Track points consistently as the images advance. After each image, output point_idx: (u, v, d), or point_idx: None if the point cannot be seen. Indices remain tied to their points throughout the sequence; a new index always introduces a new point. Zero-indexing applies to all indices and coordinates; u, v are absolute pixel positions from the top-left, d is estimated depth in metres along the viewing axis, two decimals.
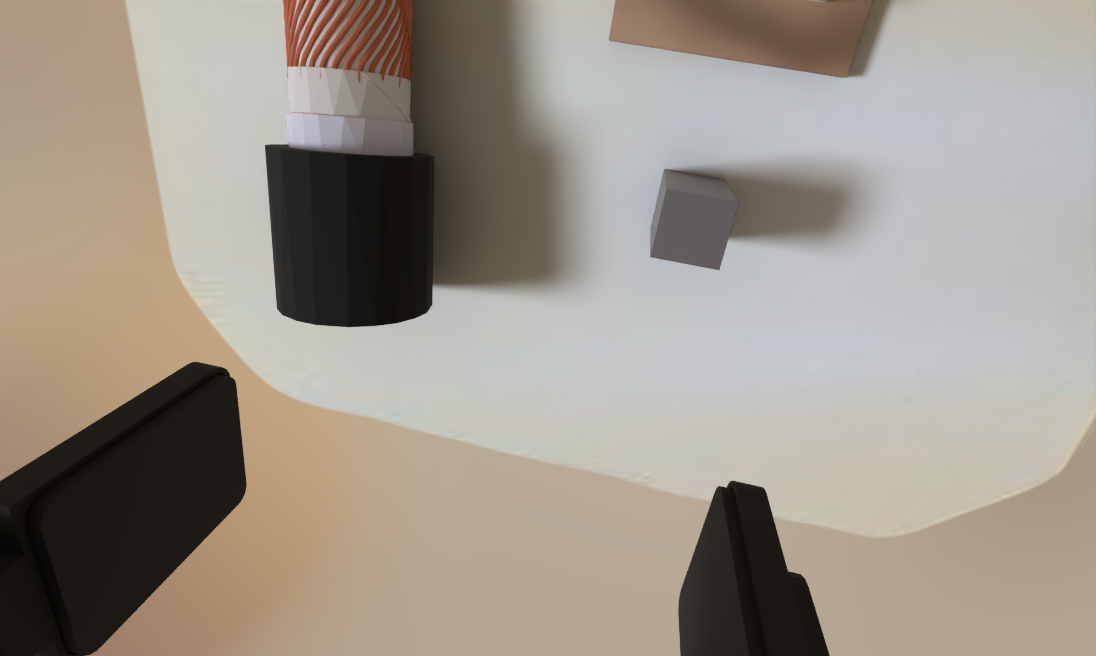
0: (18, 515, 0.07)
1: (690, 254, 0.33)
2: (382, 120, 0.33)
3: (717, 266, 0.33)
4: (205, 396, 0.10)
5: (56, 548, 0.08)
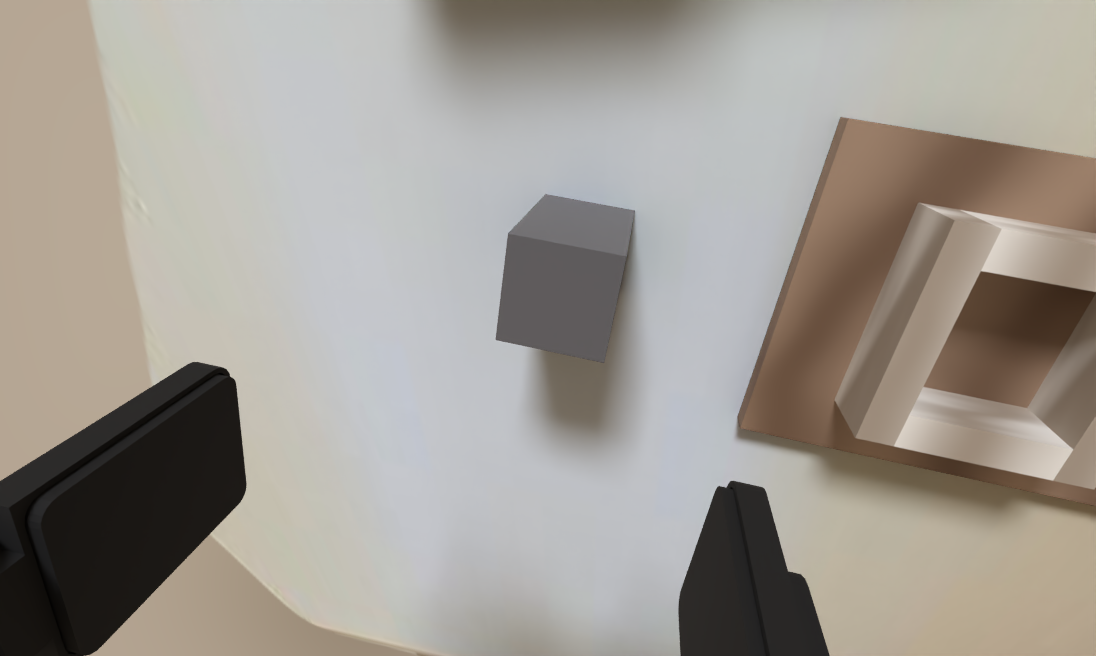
0: (18, 515, 0.07)
1: (517, 298, 0.20)
2: None
3: (501, 337, 0.21)
4: (205, 396, 0.10)
5: (56, 548, 0.08)
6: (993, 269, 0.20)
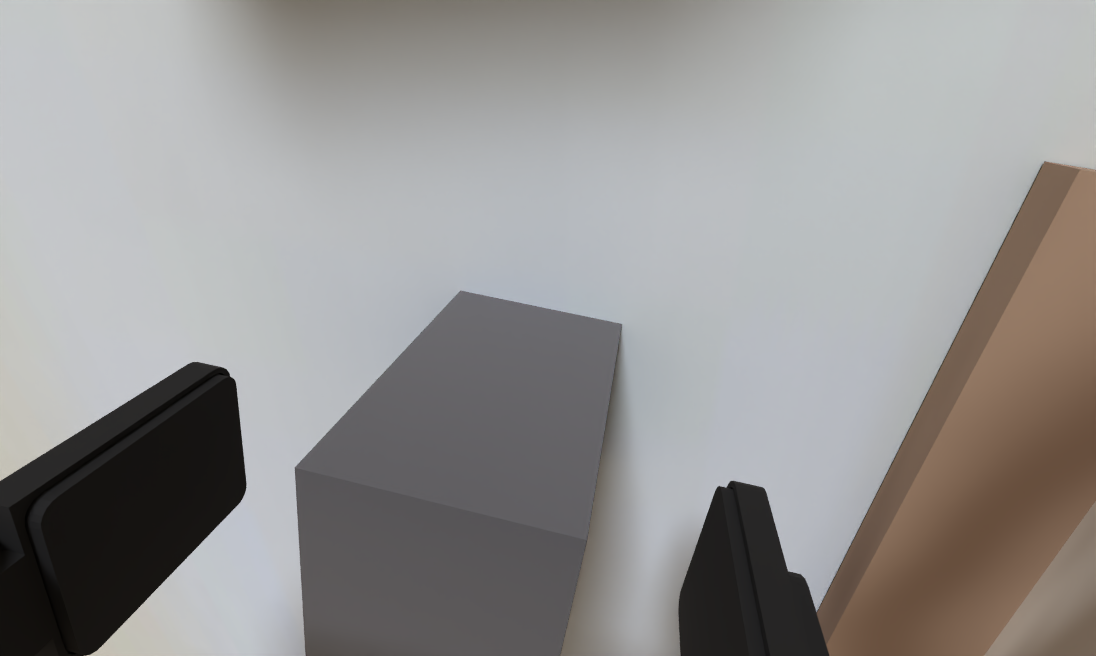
0: (18, 515, 0.07)
1: (338, 594, 0.09)
2: None
3: None
4: (205, 396, 0.10)
5: (56, 548, 0.08)
6: None
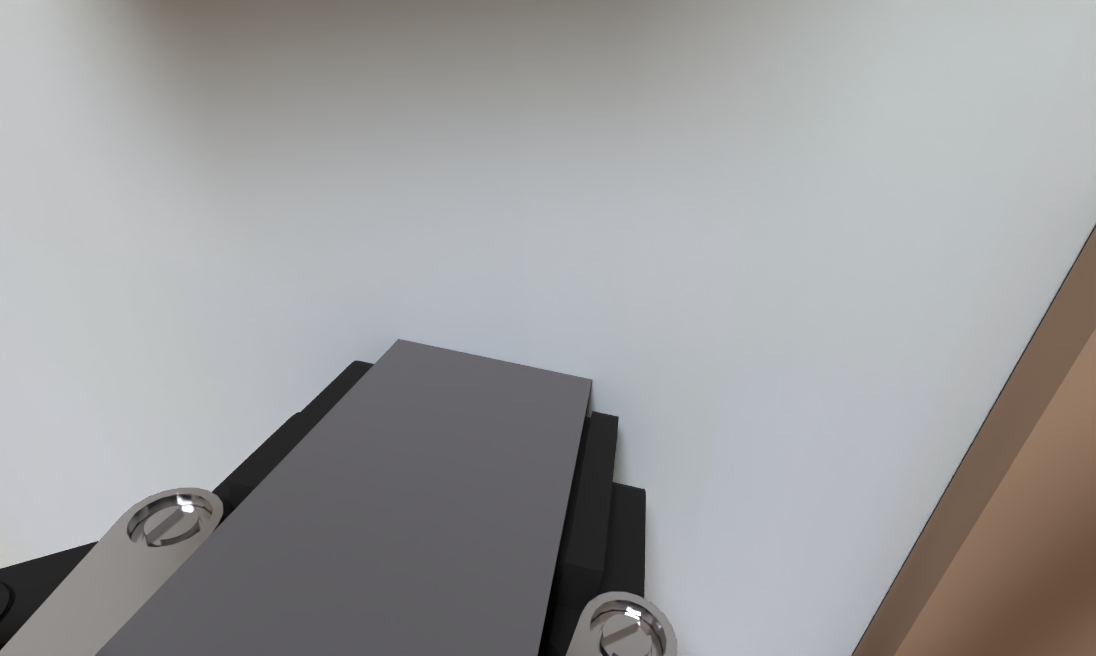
0: None
1: None
2: None
3: None
4: None
5: None
6: None
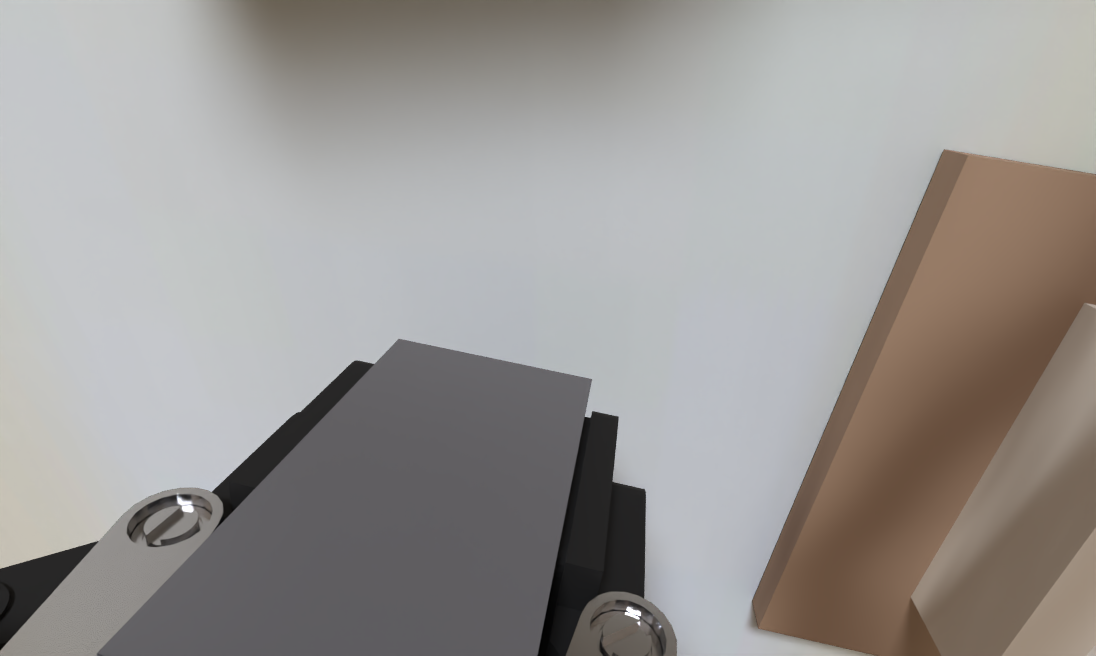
0: None
1: None
2: None
3: None
4: None
5: None
6: None
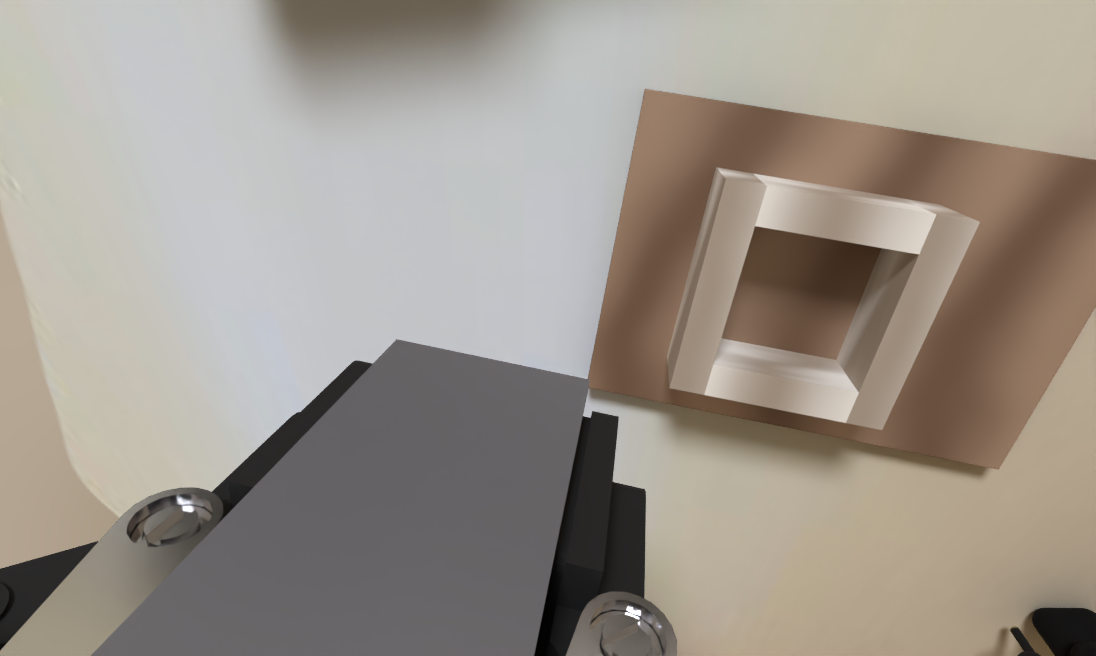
0: None
1: None
2: None
3: None
4: None
5: None
6: (765, 224, 0.21)
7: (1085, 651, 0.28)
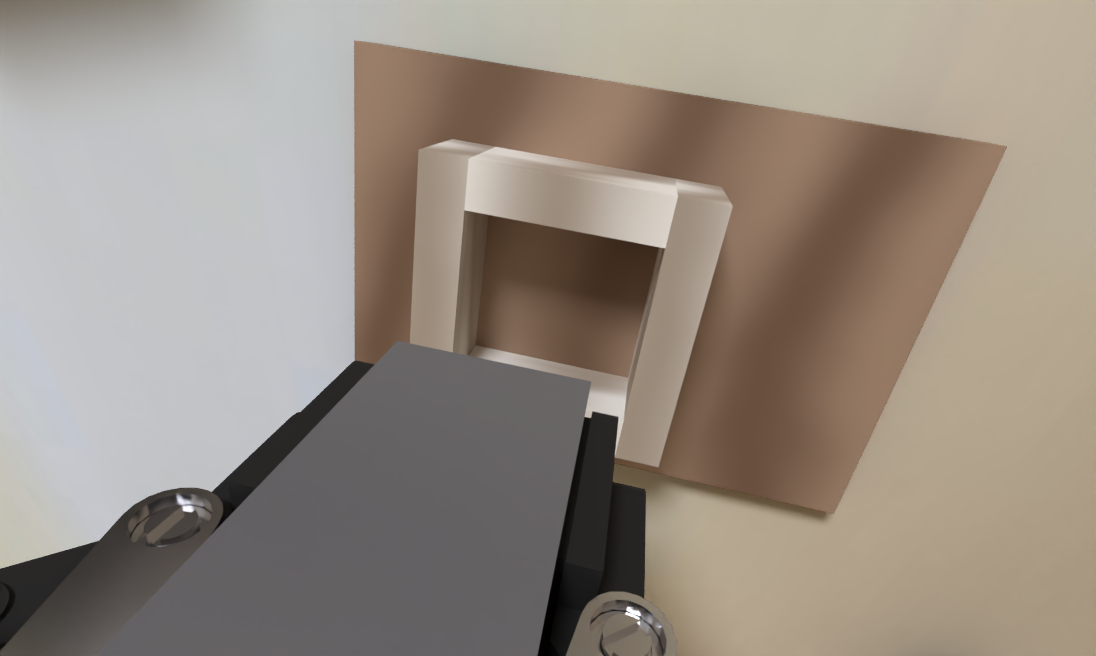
0: None
1: None
2: None
3: None
4: None
5: None
6: (475, 208, 0.17)
7: None
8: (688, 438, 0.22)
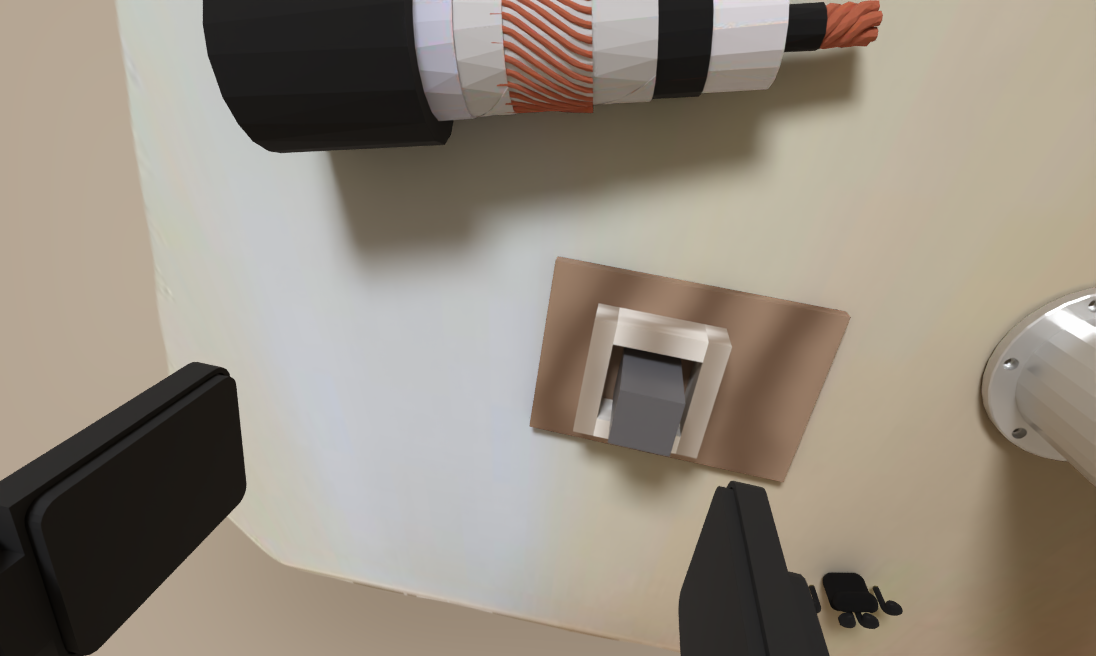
0: (18, 515, 0.07)
1: (622, 422, 0.36)
2: (465, 107, 0.31)
3: (611, 441, 0.36)
4: (205, 396, 0.10)
5: (56, 548, 0.08)
6: (618, 343, 0.38)
7: (838, 597, 0.44)
8: (708, 444, 0.43)
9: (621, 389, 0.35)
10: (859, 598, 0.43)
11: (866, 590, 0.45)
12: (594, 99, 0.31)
